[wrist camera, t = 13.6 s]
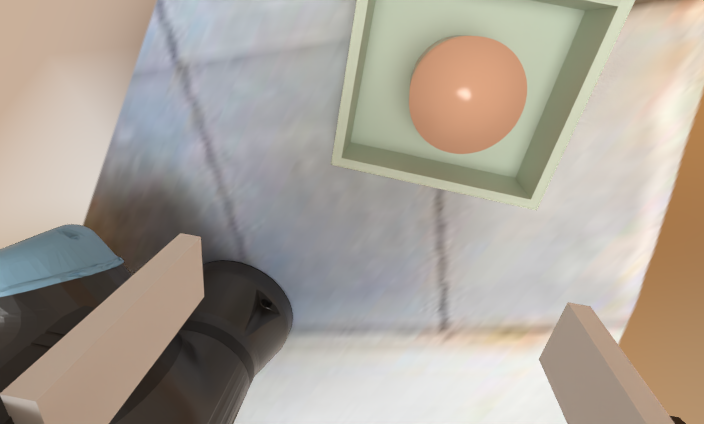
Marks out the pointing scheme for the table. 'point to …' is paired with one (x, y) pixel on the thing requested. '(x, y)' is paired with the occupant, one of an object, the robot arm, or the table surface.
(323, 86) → the table surface
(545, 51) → the caddy
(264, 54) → the table surface
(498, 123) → the peach rounded cylinder
